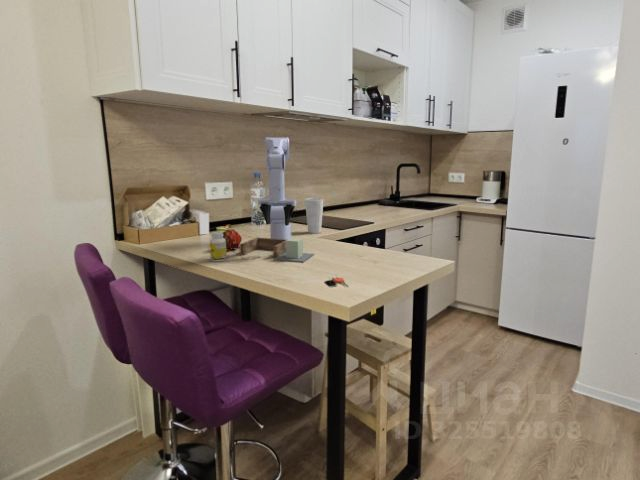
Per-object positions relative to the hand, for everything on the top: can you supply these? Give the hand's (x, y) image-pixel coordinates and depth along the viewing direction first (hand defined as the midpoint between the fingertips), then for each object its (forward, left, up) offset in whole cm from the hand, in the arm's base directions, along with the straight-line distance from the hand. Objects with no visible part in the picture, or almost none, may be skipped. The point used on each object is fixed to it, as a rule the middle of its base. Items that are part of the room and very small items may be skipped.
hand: (277, 224), depth 153 cm
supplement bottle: (+17, -15, -11) cm, 25 cm away
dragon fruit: (+1, -20, -11) cm, 23 cm away
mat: (+6, +9, -10) cm, 15 cm away
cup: (-40, 0, -11) cm, 42 cm away
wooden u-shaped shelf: (+2, -4, -10) cm, 11 cm away
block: (+6, +9, -10) cm, 15 cm away
